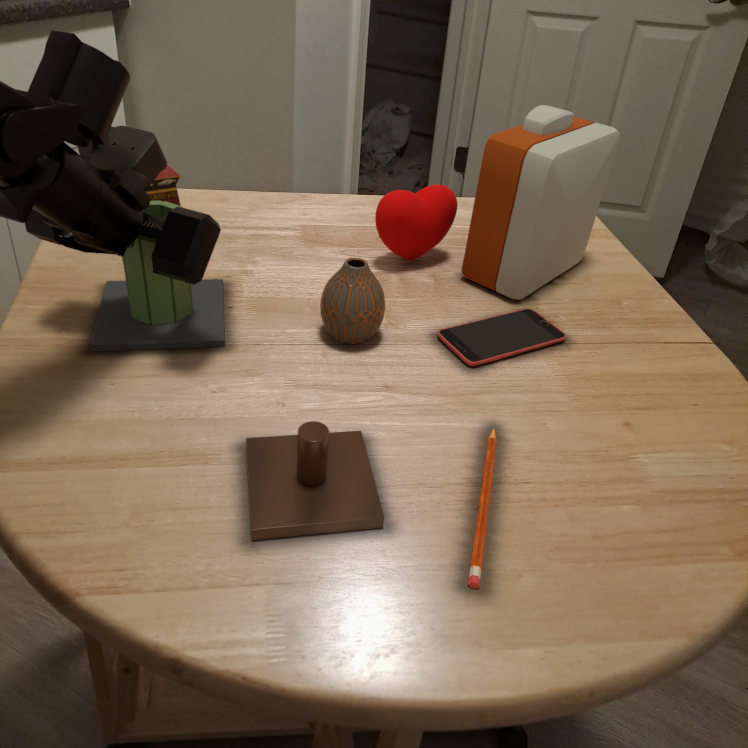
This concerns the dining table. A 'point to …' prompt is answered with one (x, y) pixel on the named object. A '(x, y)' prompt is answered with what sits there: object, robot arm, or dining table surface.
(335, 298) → the vase
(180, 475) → the dining table surface
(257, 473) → the peg stand
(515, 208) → the alarm clock
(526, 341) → the smartphone
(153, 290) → the green octagonal pen cup
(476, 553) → the pencil
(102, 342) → the grey pad
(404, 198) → the heart
